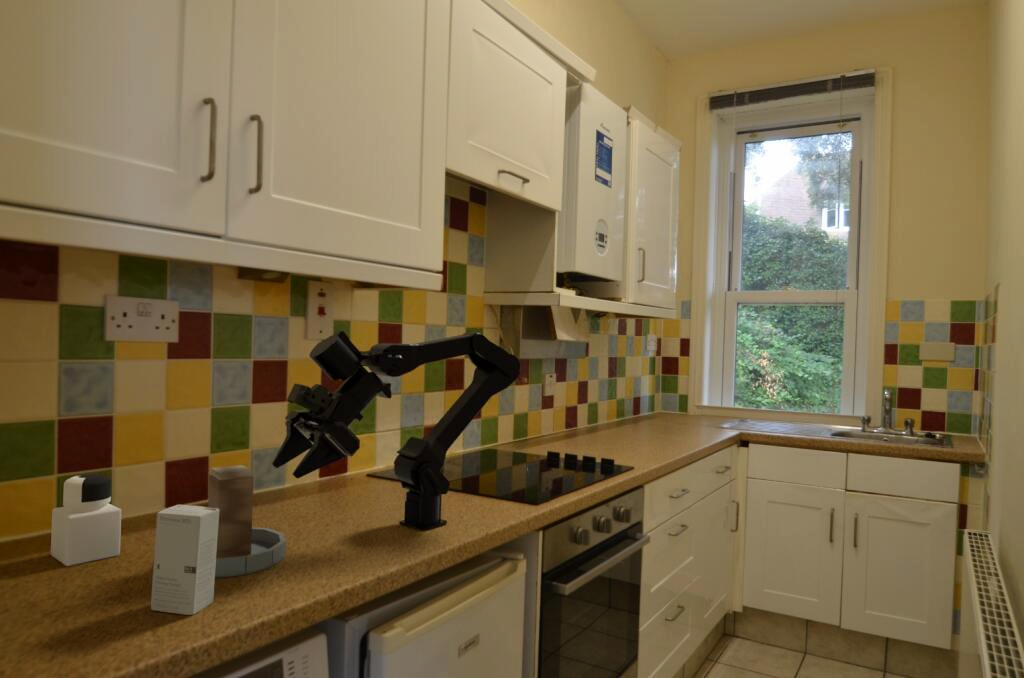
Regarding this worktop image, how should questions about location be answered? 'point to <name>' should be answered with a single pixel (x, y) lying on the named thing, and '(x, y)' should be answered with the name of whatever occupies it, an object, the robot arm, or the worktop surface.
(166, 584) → the skincare box
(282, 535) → the slate dish
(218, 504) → the walnut block
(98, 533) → the medicine bottle
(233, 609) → the worktop surface
